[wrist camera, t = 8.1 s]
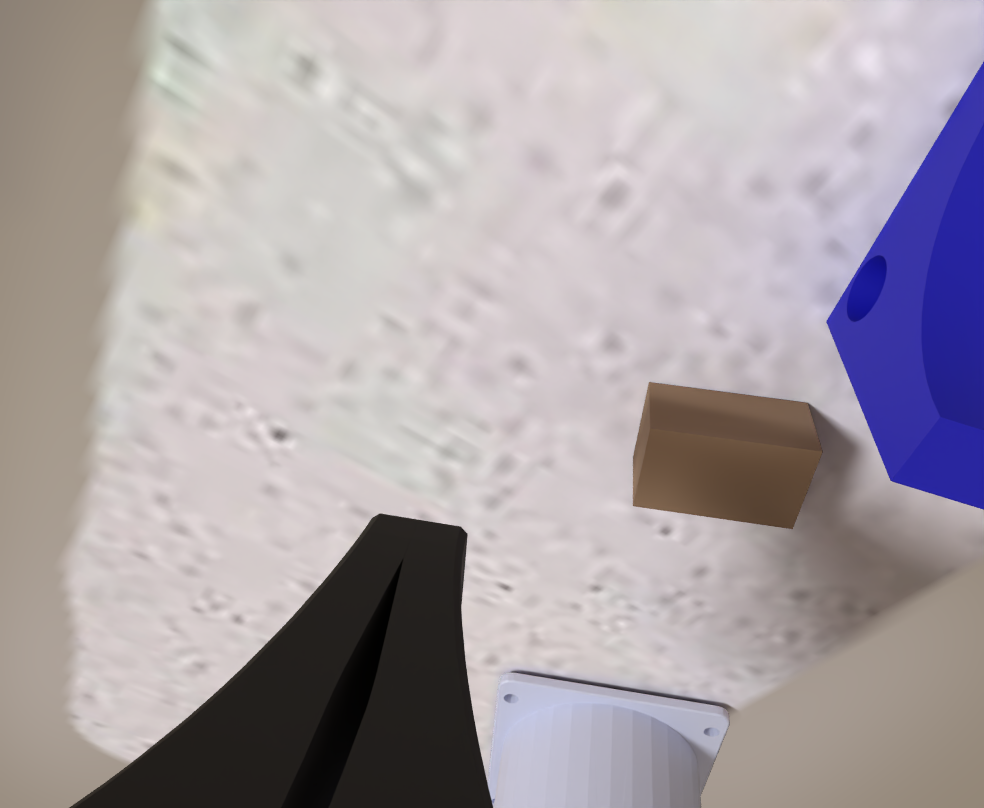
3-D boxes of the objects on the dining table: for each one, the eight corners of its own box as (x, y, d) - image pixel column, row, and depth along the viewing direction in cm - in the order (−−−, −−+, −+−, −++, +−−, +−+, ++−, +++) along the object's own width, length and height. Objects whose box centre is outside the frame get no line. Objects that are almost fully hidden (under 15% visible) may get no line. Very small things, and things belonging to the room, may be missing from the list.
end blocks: (780, 477, 22) (792, 528, 20) (633, 457, 22) (632, 506, 20) (1170, -609, 11) (1267, -690, 9) (859, -616, 11) (899, -697, 9)
